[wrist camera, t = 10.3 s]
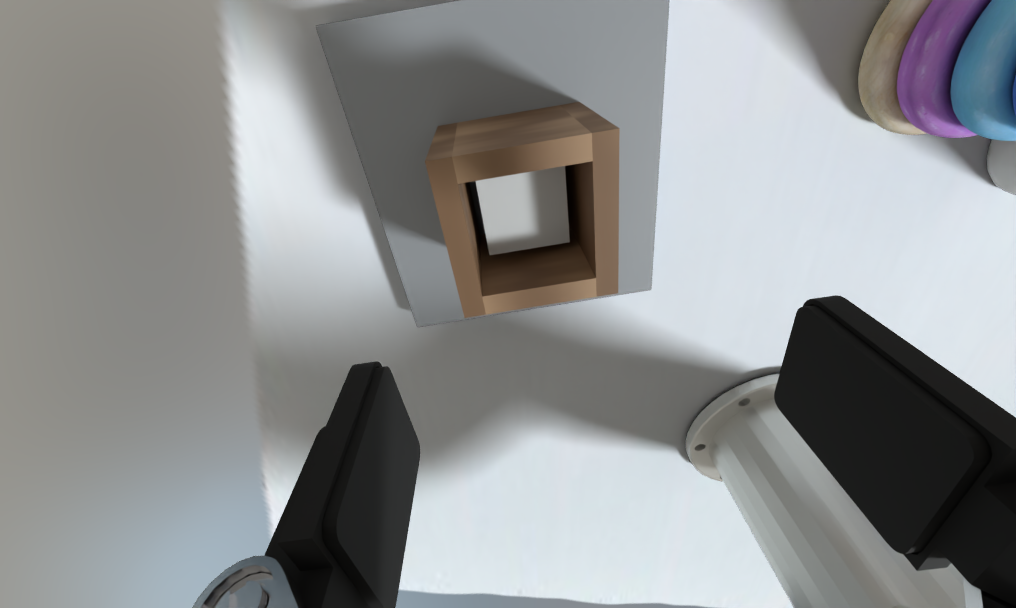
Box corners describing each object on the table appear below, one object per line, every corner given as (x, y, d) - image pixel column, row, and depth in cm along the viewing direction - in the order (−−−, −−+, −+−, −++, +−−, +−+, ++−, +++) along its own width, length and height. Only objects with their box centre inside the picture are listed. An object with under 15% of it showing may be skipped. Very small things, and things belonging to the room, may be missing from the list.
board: (657, -32, 17) (716, -53, 13) (642, 277, 25) (675, 325, 21) (326, 26, 17) (280, 24, 13) (420, 312, 26) (409, 367, 21)
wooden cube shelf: (579, 101, 18) (619, 128, 13) (584, 233, 22) (618, 293, 17) (437, 125, 18) (424, 161, 13) (466, 252, 22) (464, 318, 17)
